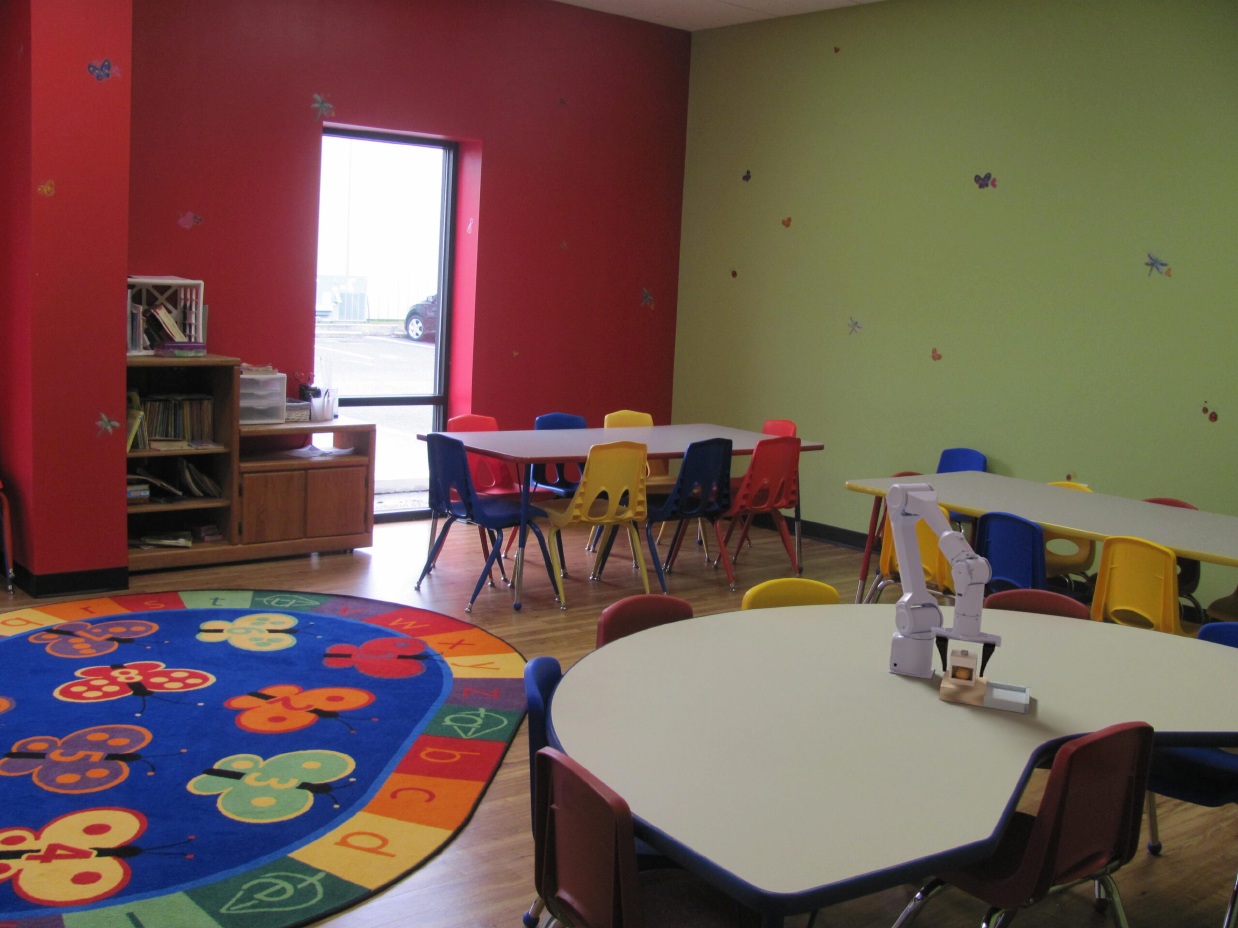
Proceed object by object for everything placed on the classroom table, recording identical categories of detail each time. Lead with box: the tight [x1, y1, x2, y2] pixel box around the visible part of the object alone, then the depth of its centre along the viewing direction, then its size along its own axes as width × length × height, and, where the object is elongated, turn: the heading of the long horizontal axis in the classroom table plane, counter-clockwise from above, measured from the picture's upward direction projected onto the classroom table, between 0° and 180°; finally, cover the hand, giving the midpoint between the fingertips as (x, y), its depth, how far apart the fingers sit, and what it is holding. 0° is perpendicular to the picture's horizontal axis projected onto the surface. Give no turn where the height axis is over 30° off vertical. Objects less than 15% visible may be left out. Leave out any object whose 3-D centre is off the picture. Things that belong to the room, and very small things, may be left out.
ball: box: [955, 667, 970, 680], centre depth 237 cm, size 3×3×3 cm
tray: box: [982, 680, 1031, 715], centre depth 234 cm, size 9×12×2 cm
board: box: [938, 669, 988, 707], centre depth 238 cm, size 9×12×3 cm
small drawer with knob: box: [948, 648, 979, 686], centre depth 237 cm, size 5×5×7 cm
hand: (962, 673), depth 237 cm, fingers open, 7 cm apart
